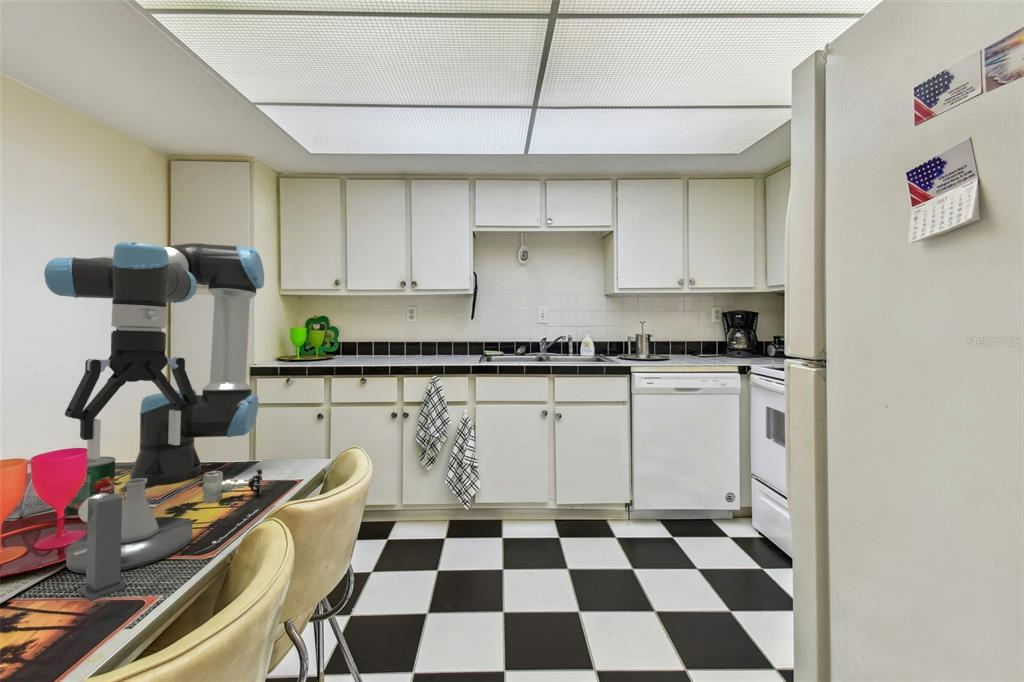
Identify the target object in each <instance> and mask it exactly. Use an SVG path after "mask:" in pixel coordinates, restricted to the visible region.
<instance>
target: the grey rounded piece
mask: <svg viewBox="0 0 1024 682" xmlns="http://www.w3.org/2000/svg"><path fill="white" fill-rule="evenodd" d="M115 494H116V495H118V496H120V497H122V507H123V505H124V501H125V493H123V492H118V493H115ZM154 517H155V516H154ZM155 519H156V521H157V524H158V526H159V532H157V533H156V534H154V535H152V536H151V537H149V538H147V539H142V540H138V541H133V542H129V543H121V566H120V571H125V570H130V569H134V568H138V567H142V566H145V565H147V564H148V565H149V564H151V563H155V562H157V561H160V560H162V559H165V558H167V557H169V556H171V555H174V554H176V553H177V552H179V551H180V550H183V549H184V548H185V547H186V546H187V545H189V544H190V542H191V541H192V539H193V523H192V521H191V520H188V519H187V518H184V517H179V516H156V517H155ZM65 560H66V562H65V563H66V567H67V569H68V570H70V571H72V572H73V573H78V574H86V560H87V534H86V535H84V536H82V537H80V538H78V539H76V540H75V541H73V542H72V543H71V544H70V545H69V546H68V547H67V549H66V559H65Z"/></svg>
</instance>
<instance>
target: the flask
mask: <svg viewBox="0 0 1024 682" xmlns="http://www.w3.org/2000/svg"><path fill="white" fill-rule="evenodd" d="M146 483H147V478H138V479H131V480H130V479H128V480H126V481H124V486H125V488H126V493H125V496H124V505H123V507H122V529H121V543H129V542H133V541H138V540H142V539H147V538H149V537H151V536H152V535H154V534H156V533H157V532H159V526H158V524H157V521H156V519H155V515H154V514H153V510H152V509H151V505H150V504H149V502H148V499H147V494H146V485H145V484H146Z"/></svg>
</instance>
